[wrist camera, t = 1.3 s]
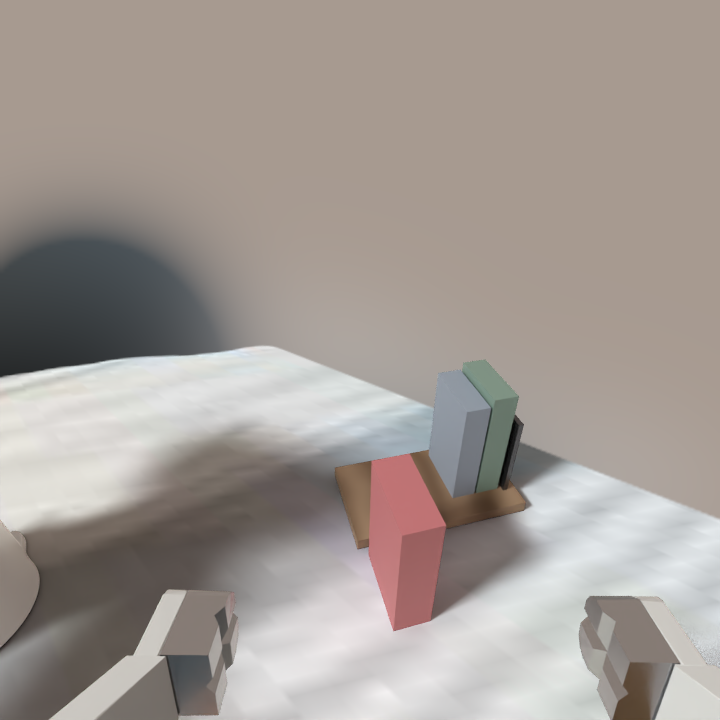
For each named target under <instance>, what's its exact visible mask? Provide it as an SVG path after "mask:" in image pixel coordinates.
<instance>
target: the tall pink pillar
mask: <svg viewBox="0 0 720 720" xmlns="http://www.w3.org/2000/svg"><path fill="white" fill-rule="evenodd" d="M445 530H446V524H445V522H444V520H443V518H442V516H441V514H440V512H439V510H438V508H437V506H436V504H435V502H434V500H433V499H432V497H431V495H430V493H429V491H428V489H427V487H426V485H425V483H424V481H423V479H422V477H421V475H420V473H419V471H418V469H417V467H416V465H415V463H414V461H413V459H412V457H411V455H410V454H405V455H400V456H395V457H389V458H384V459H379V460H374V461H372V465H371V497H370V528H369V557H370V560H371V563H372V567H373V570H374V573H375V576H376V579H377V582H378V585H379V588H380V591H381V594H382V597H383V600H384V603H385V606H386V610H387V613H388V616H389V619H390V622H391V625H392V628H393V631H396V630H400V629H403V628H407V627H410V626H414V625H417V624H421V623H425V622H428V621H431V615H432V609H433V603H434V597H435V590H436V584H437V578H438V572H439V566H440V560H441V554H442V548H443V542H444V536H445Z"/></svg>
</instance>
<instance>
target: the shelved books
mask: <svg viewBox="0 0 720 720" xmlns="http://www.w3.org/2000/svg"><path fill="white" fill-rule="evenodd" d="M518 398H519V396H518V395H517V394H516V393H515V392H514V390H513V389H512V388H511V387H510V386H509V385H508V384H507V383H506V382H505V381H504V380H503V378H502V377H501V376H500V375H499V374H498V373H497V372H496V371H495V370H494V369H493V368H492V367H491V365H490V364H489V363H488V362H487V361H486V360H479V361H472V362H466V363H463V370H462V371H461V370H456V371H449V372H442V373H438V381H437V389H436V397H435V406H434V414H433V422H432V431H431V439H430V447H429V457H430V459H431V461H432V462H433V464H434V466H435V468H436V470H437V471H438V473H439V475H440V477H441V479H442V480H443V482H444V484H445V486H446V488H447V489H448V491H449V493H450V495H451V496H452V498H456V497H461V496H465V495H470V494H474V491H475V492H476V493H479V492H484V491H488V490H493V489H497V487H498V482H499V478H500V474H501V470H502V466H503V461H504V457H505V453H506V449H507V445H508V440H509V436H510V432H511V428H512V424H513V419H514V415H515V411H516V407H517V403H518Z"/></svg>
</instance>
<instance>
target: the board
mask: <svg viewBox="0 0 720 720" xmlns="http://www.w3.org/2000/svg"><path fill="white" fill-rule="evenodd" d="M410 455H411V457H412V459H413V461H414V463H415V465H416V467H417V469H418V471H419V473H420V475H421V477H422V479H423V481H424V483H425V485H426V487H427V489H428V491H429V493H430V495H431V497H432V499H433V500H434V502H435V504H436V506H437V508H438V510H439V512H440V514H441V516H442V518H443V520H444V522H445V524H446V528H451V527H455V526H459V525H464V524H468V523H472V522H476V521H481V520H485V519H489V518H494V517H498V516H502V515H506V514H511V513H515V512H519V511H524V507H525V504H526V502H525V501H524V499H523V498H522V496H521V495H520V494H519V492H518V491H517V489H516V488H515V487H514V485H513V484H512V482H511V481H509V485H508V489H507V490H502V488H501V487H500V485H499V484H498V487H497V489H493V490H488V491H484V492H479V493H476V492H475V491H474V494H470V495H465V496H461V497H456V498H452V496H451V495H450V493H449V491H448V489H447V488H446V486H445V484H444V482H443V480H442V479H441V477H440V475H439V473H438V471H437V470H436V468H435V466H434V464H433V462H432V461H431V459H430V457H429V450H426V451H420V452H415V453H410ZM399 456H400V455H399ZM394 457H395V456H394ZM378 460H379V459H378ZM373 461H374V460H373ZM371 465H372V461H368V462H363V463H357V464H352V465H347V466H342V467H336V468H335V477H336V480H337V484H338V487H339V490H340V493H341V497H342V500H343V503H344V506H345V510H346V513H347V516H348V519H349V523H350V526H351V529H352V532H353V536H354V539H355V542H356V545H357V549H361V548H365V547H369V528H370V497H371Z"/></svg>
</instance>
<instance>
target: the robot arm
mask: <svg viewBox="0 0 720 720" xmlns="http://www.w3.org/2000/svg"><path fill="white" fill-rule="evenodd" d="M39 582H40V579H39V573H38V570H37V567H36V566H35V564H34V563H33V562H32V561H31V559H30V558H29V557H28V556H27V554H26V539H25V537H24V536H23V535H22V534H21V533H20V532H18V531H12V532H10V531H9V530H8V529H7V528H6V526H5V525H4V524H3V523H2V521H1V520H0V647H1V646H2V645H3V644H4V643H6V641H7V640H8V639H9V638H10V637H11V636H12V635H13V634H14V633H15V632H16V631H17V629H18V628H19V627H20V626H21V624H22V623H23V622H24V620H25V619H26V617H27V616H28V614H29V612H30V611H31V609H32V607H33V605H34V602H35V600H36V597H37V594H38V590H39ZM235 604H236V601H235V595H234V592H229V591H205V590H172V589H168V590H167V591H166V592H165V593H164V595H163V596H162V598H161V600H160V602H159V604H158V606H157V608H156V610H155V612H154V614H153V616H152V618H151V620H150V622H149V624H148V626H147V628H146V630H145V632H144V635H143V637H142V639H141V641H140V643H139V645H138V647H137V649H136V651H135V653H134V655H131V656H125V657H124V658H123V659H122V660H121V661H119V662H118V663H117V664H116V665H115V666H113V667H112V668H111V669H110V670H108V671H107V672H106V673H105V674H104V675H102V676H101V677H100V678H99V679H98V680H96V681H95V682H94V683H93V684H92V685H90V686H89V687H88V688H87V689H85V690H84V691H83V692H82V693H81V694H79V695H78V696H77V697H76V698H75V699H73V700H72V701H71V702H70V703H69V704H67V705H66V706H65V707H64V708H62V709H61V710H60V711H59V712H58V713H56V714H55V715H54V716H53V717H52V718H50V719H49V720H178V719H179V717H178V716H190V715H219V712H220V708H221V705H222V701H223V697H224V694H225V690H226V687H227V677H226V670H227V669H228V668H229V667H230V666H231V665H232V664H233V661H234V657H235V653H236V649H237V642H238V628H239V625H238V617H237V616H236V615H235V614H234V613H233V611H234V607H235ZM584 609H585V611H586V613H587V615H588V617H587V618H586V619H584V620H583V621H582V622H581V624H580V630H579V642H580V649H581V652H582V656H583V659H584V661H585V664H586V666H587V668H588V670H589V671H591V672H592V673H593V674H594V675H595V676H596V677H597V678H598V679H600V680H599V684H598V688H597V691H598V693H599V695H600V697H601V700H602V702H603V704H604V706H605V709H606V711H607V713H608V715H609V717H610V720H720V668H718V667H717V666H715V665H708V664H707V663H706V662H705V660H704V659H703V657H702V656H701V654H700V653H699V652H698V650H697V649H696V647H695V646H694V644H693V643H692V642H691V640H690V639H689V637H688V636H687V634H686V633H685V632H684V630H683V629H682V627H681V626H680V624H679V623H678V622H677V620H676V619H675V617H674V616H673V614H672V613H671V612H670V610H669V609H668V607H667V606H666V604H665V603H664V602H663V600H661V599H660V598H659V597H637V596H635V597H632V596H590V597H589V598H588V599H587V600H586V604H585V607H584Z"/></svg>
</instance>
